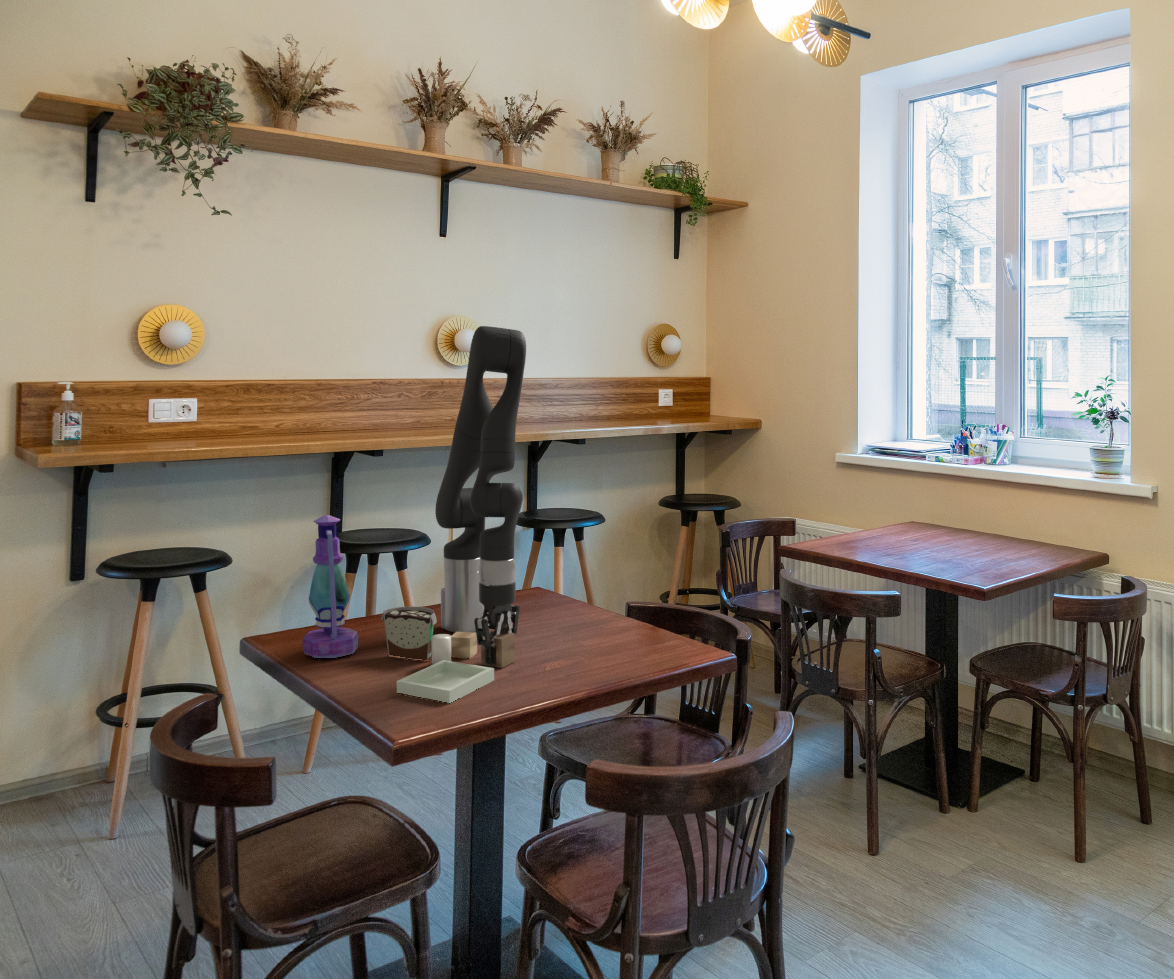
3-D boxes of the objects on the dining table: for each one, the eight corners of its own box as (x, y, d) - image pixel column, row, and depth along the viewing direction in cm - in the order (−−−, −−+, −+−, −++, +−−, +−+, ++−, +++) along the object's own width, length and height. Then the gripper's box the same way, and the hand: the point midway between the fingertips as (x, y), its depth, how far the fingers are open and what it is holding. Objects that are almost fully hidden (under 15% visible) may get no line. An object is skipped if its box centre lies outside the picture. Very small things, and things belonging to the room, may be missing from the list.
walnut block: (481, 664, 195) (480, 636, 194) (494, 658, 199) (494, 630, 198) (501, 668, 192) (501, 639, 192) (514, 661, 197) (514, 633, 196)
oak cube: (450, 657, 200) (449, 637, 200) (457, 651, 205) (456, 631, 204) (470, 659, 199) (469, 638, 199) (477, 653, 204) (476, 632, 203)
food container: (447, 654, 202) (447, 608, 201) (434, 662, 197) (433, 615, 195) (397, 648, 206) (396, 604, 205) (382, 656, 201) (381, 610, 199)
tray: (396, 693, 177) (396, 681, 177) (443, 671, 190) (443, 660, 190) (449, 703, 172) (449, 690, 171) (494, 680, 185) (494, 668, 185)
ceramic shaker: (427, 666, 194) (427, 637, 193) (439, 661, 198) (438, 633, 197) (444, 669, 192) (443, 640, 191) (455, 663, 196) (454, 635, 195)
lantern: (363, 658, 199) (359, 517, 196) (306, 665, 195) (301, 521, 191) (353, 642, 211) (349, 509, 208) (299, 648, 207) (294, 512, 203)
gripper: (500, 571, 202) (501, 649, 204) (462, 584, 189) (463, 667, 191) (530, 575, 198) (531, 653, 200) (493, 588, 186) (494, 672, 188)
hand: (497, 659), depth 196 cm, fingers closed on walnut block, 5 cm apart
